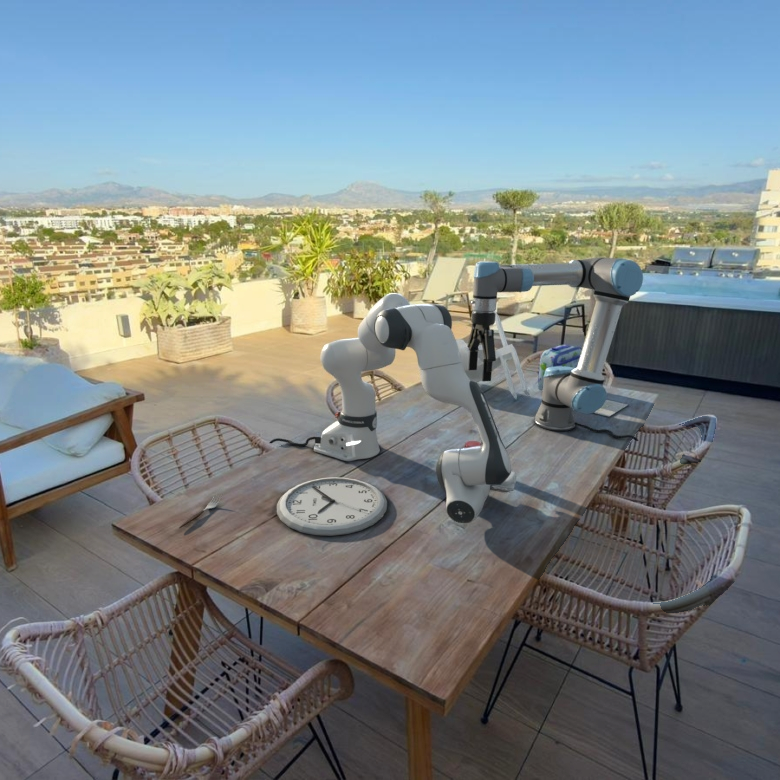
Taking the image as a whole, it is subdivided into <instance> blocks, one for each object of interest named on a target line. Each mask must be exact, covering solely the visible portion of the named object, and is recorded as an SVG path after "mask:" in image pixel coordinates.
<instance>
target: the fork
mask: <svg viewBox="0 0 780 780" xmlns="http://www.w3.org/2000/svg"><path fill="white" fill-rule="evenodd" d="M222 498H223V495H221V493H220V494H217V493H215V494H214V495H213V497H212V499H211V500H210V502H209V503H208V504H207V505H206V507H205V508H204V509H202V510H200V511H199V512H197V513H195V514H193V515H192V516H191V517H190V518H188V519H187V520H186V521H185V522H184V523H183V524H181V525H180V526H179V527H178V529H182V528H183V527H185V526H186V525H188V524H189V523H191V522H193V521H195V520H196V519H197V518H198V517H200V516H201V515H202V514H203V513H204V512H205V511H207V510H210V509H211V510H212V509H215V508H216V507H217V506H218V505H219V503H220V501H221V499H222Z"/></svg>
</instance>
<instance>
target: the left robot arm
mask: <svg viewBox="0 0 780 780" xmlns="http://www.w3.org/2000/svg"><path fill="white" fill-rule="evenodd" d="M452 328H453V320H452V315H451V313H450V311H449V310H448V308H447V307H445V306H444V305H441V304H437V303H420V304H419V303H418V304H417V303H415V304H411V303H410V302H409V300H408V299H407V298H406V297H405V296H404V295H402V294H401V293H397V292H396V293H395V292H392V293H387V294H385V295H384V296H382V298H380V299H379V300H378V301H377V302H375V304H374V305H373V306H372V307H371V308H370V310H369V311H368V312H367V313H366V315H365V316H364V318H363V319H362V320H361V322H360V323H359V324H358V327H357V337H353V338H344V339H343V338H342V339H337V340H334V341H331V342H328V343H325V344H324V346H323V347H322V348H321V351H320V357H319V359H320V364H321V366H322V368H323V369H324V370H325V371H326V372H327V373H328V374H329V375H331V376H332V377H333V378H334V379H335V380H336V382H337V383H338V386H339V389H340V394H341V408H340V410H338V411H337V413H335V417H334V418H335V419H336V418H337V420H336V421H334V422H333V423H331V424H330V425H328V426H327V427H325V429H324V430H323V431H322V432H321V431H319V432H317V433H316V435H314V436H309V437H308V438H306V440H305V442H304V443H298V442H294V441H292V440H290V439H285V438H277V437H276V438H273V439H272V440H270V441H269V442H268V444H273V443H275V442H284V443H288V444H290V445H292V446H295V447H306V446H307V445H308V444H309V442H310V441H313V440H314V446H313V451H314V452H315V453H319V454H321V455H325V456H328V457H332V458H335V459H338V460H341V461H345V462H353V461H356V460H364V459H369V458H373V457H375V456H377V455H378V454H379V453H380V452H381V448H380V445H379V441H378V435H377V426H378V425H377V424H378V413H377V412H378V411H377V410H376V404H377V403H376V399H377V398H376V397H377V395H376V390H375V387H374V386H373V385H372V384H371V383H369V382H367V381H365V380H363V378H362V372H369V371H370V372H371V371H376V370H379V369H383V368H386V367H388V366H390V365H392V364H393V363H394V361H395V358H396V355H397V354H396V353H397V352H396V351H397V350H400V351H405V350H406V349H407V348H410V349H412V350H413V351H414V353H415V355H416V360H417V366H418V371H419V377H420V378H419V379H420V382H421V386H422V388H423V390H424V391H425V393H426V394H427V395H428V396H430V398H432V399H434V400H436V401H438V402H441V403H445V404H451V405H454V406H459V407H460V408H461V407H462V408H464V409H466V410H467V411H468V412H469V413H470V414H471V416H472V418H473V421H474V423H475V426H476V428H477V429H476V430H477V431H478V434H479V436H480V439H481V440H482V442H483V445H481V446H475V447H467V448H465V447H458V448H457V447H456V448H451V449H445V450H443V451H442V452H441V454H440V456H439V457H438V459H437V461H436V464H435V465H436V466H435V473H436V479H437V482H438V484H439V487H440V489H441V490H442V491H443V493H444V494H445V495H446V502H445V511H446V514H447V516H448V517H449V518H450V519H451V520H452V521H454V522H456V523H458V524H469V523H471V522H473V521H475V520H476V519H477V518H478V517H479V515H480V514H481V512H482V510H483V508H484V506H485V503H486V500H487V499H488V496H489V495H490V491H492V492H498V493H502V494H503V493H504V494H505V493H511V492H513V491H514V490H515V488H516V483H517V473H516V472H515V471H512V461H511V458H510V455H509V453H508V451H507V449H506V446H505V444H504V442H503V440H502V438H501V435H500V432H499V433H498V431H499V429H498V430H497V427H496V426H497V424H496V422H495V419H494V416H493V414H492V411H491V409H490V406H489V403H488V401H487V399H486V396H485V393H484V392H483V390H482V388H481V386H480V384H478V383H479V382H477V383H476V382H474V381H471V380H470V379H469V378H468V376H467V375H466V373H465V371H464V369H463V366H462V361H461V356H460V352H459V349H458V346H457V343H456V340H455V339H456V337H455V335H454V331H453V330H452ZM458 363H459V364H458Z"/></svg>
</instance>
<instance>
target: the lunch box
mask: <svg viewBox="0 0 780 780" xmlns="http://www.w3.org/2000/svg"><path fill="white" fill-rule="evenodd" d="M581 352H582V347H580V346H574V345H570V344H569V345H568V344H560V345H558V346H555V347H551V348H549V349H546V350H544V351H543V352H542V353H541V355H540V358H539V365H538V377H537V389H538V390H539V391H543V382H544V374H545V370H546V369H547V368H549V367H556V366H563V367H573V368H576V367H577V365H578V362H579V358H580V355H581Z"/></svg>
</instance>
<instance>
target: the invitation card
mask: <svg viewBox="0 0 780 780" xmlns="http://www.w3.org/2000/svg"><path fill="white" fill-rule="evenodd" d="M628 406H629V404H627V403H623V402H618V401H614V400H609V399H606V401H605V403H604V404H603V406H602V407H601V408H600V409H599V410H597V411H596V412H594V413H593V414H596V415H600V416H604V417H608V418H609V417H611V416H613V415H614V414H616V413H617V412H619V411H621V410H623V409H624V408H626V407H628Z"/></svg>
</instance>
